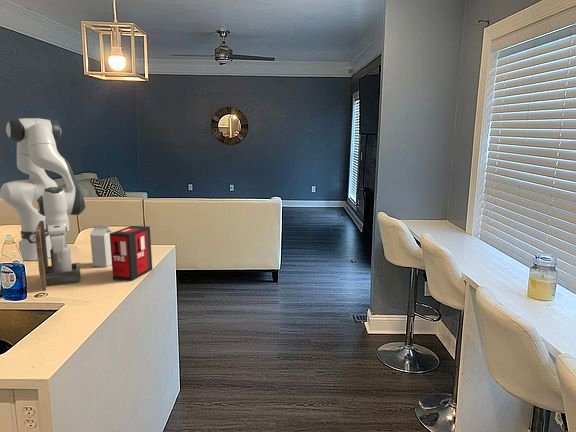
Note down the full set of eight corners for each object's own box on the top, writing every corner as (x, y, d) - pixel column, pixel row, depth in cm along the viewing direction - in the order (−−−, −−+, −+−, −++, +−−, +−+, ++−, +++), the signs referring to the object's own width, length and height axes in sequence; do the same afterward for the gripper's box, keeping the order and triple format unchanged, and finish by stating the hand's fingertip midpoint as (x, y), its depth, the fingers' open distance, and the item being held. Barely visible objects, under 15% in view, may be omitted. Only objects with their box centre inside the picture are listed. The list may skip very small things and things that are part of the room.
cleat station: (45, 274, 202) (39, 220, 198) (80, 270, 208) (75, 218, 203) (41, 291, 181) (34, 231, 176) (80, 286, 186) (74, 228, 182)
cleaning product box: (134, 268, 210) (131, 225, 206) (152, 269, 208) (149, 226, 204) (113, 279, 194) (109, 233, 191) (131, 281, 192) (128, 234, 189)
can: (65, 276, 190) (62, 248, 187) (48, 275, 191) (45, 247, 188) (75, 270, 197) (73, 243, 195) (60, 270, 198) (57, 243, 196)
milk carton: (106, 267, 212) (103, 227, 209) (92, 266, 214) (89, 226, 210) (115, 263, 219) (112, 224, 216) (101, 262, 220) (98, 223, 217)
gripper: (50, 223, 198) (53, 254, 201) (47, 232, 180) (51, 266, 182) (66, 221, 201) (69, 252, 203) (65, 230, 182) (68, 264, 185)
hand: (60, 259), depth 193 cm, fingers closed on can, 7 cm apart
